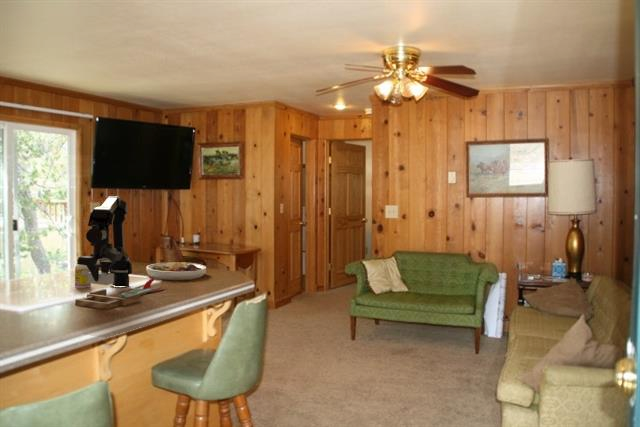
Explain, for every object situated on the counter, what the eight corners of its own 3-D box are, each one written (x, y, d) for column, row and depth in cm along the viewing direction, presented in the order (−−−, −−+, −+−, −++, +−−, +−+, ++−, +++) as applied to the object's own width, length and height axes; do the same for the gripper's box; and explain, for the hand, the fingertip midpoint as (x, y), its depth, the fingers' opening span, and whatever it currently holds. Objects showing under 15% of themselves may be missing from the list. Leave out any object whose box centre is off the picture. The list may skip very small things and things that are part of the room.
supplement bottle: (72, 286, 232) (73, 257, 232) (88, 285, 237) (88, 257, 236) (77, 289, 227) (77, 259, 226) (92, 287, 232) (93, 259, 231)
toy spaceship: (136, 306, 210) (136, 293, 210) (111, 303, 212) (110, 291, 212) (167, 288, 237) (167, 277, 237) (144, 286, 239) (144, 275, 238)
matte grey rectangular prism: (106, 285, 198) (106, 274, 198) (87, 282, 201) (87, 272, 200) (113, 283, 202) (113, 273, 201) (94, 281, 204) (95, 271, 204)
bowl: (133, 275, 266) (134, 260, 266) (180, 269, 291) (180, 255, 290) (172, 284, 249) (172, 268, 249) (217, 276, 274) (218, 262, 273)
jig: (72, 304, 200) (72, 296, 200) (103, 296, 216) (103, 288, 216) (110, 309, 194) (110, 301, 194) (139, 301, 211) (139, 293, 210)
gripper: (101, 244, 189) (100, 286, 190) (134, 240, 207) (133, 278, 207) (76, 242, 192) (75, 283, 193) (111, 238, 210) (110, 276, 211)
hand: (100, 280), depth 201 cm, fingers closed on matte grey rectangular prism, 4 cm apart
